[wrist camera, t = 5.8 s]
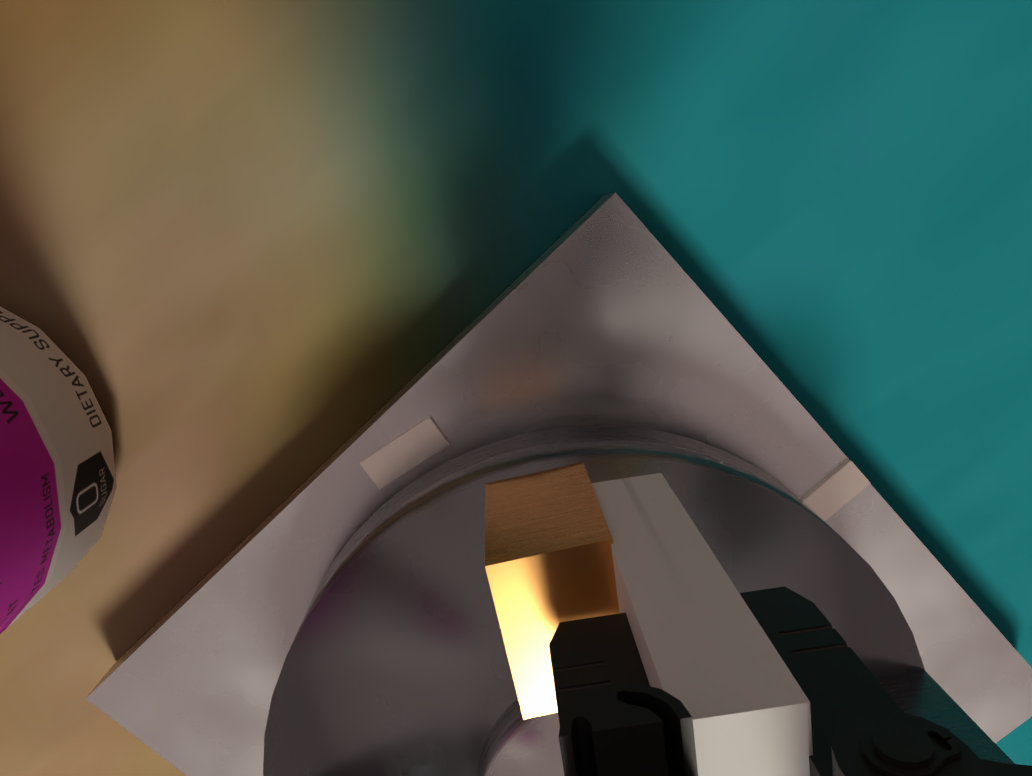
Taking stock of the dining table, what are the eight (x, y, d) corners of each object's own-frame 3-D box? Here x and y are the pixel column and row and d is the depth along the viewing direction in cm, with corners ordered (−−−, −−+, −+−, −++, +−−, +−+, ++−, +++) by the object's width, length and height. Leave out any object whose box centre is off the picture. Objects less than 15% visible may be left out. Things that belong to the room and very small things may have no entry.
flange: (604, 194, 17) (616, 192, 16) (1017, 663, 21) (1060, 699, 19) (115, 662, 20) (83, 701, 18) (559, 1012, 23) (565, 1069, 22)
